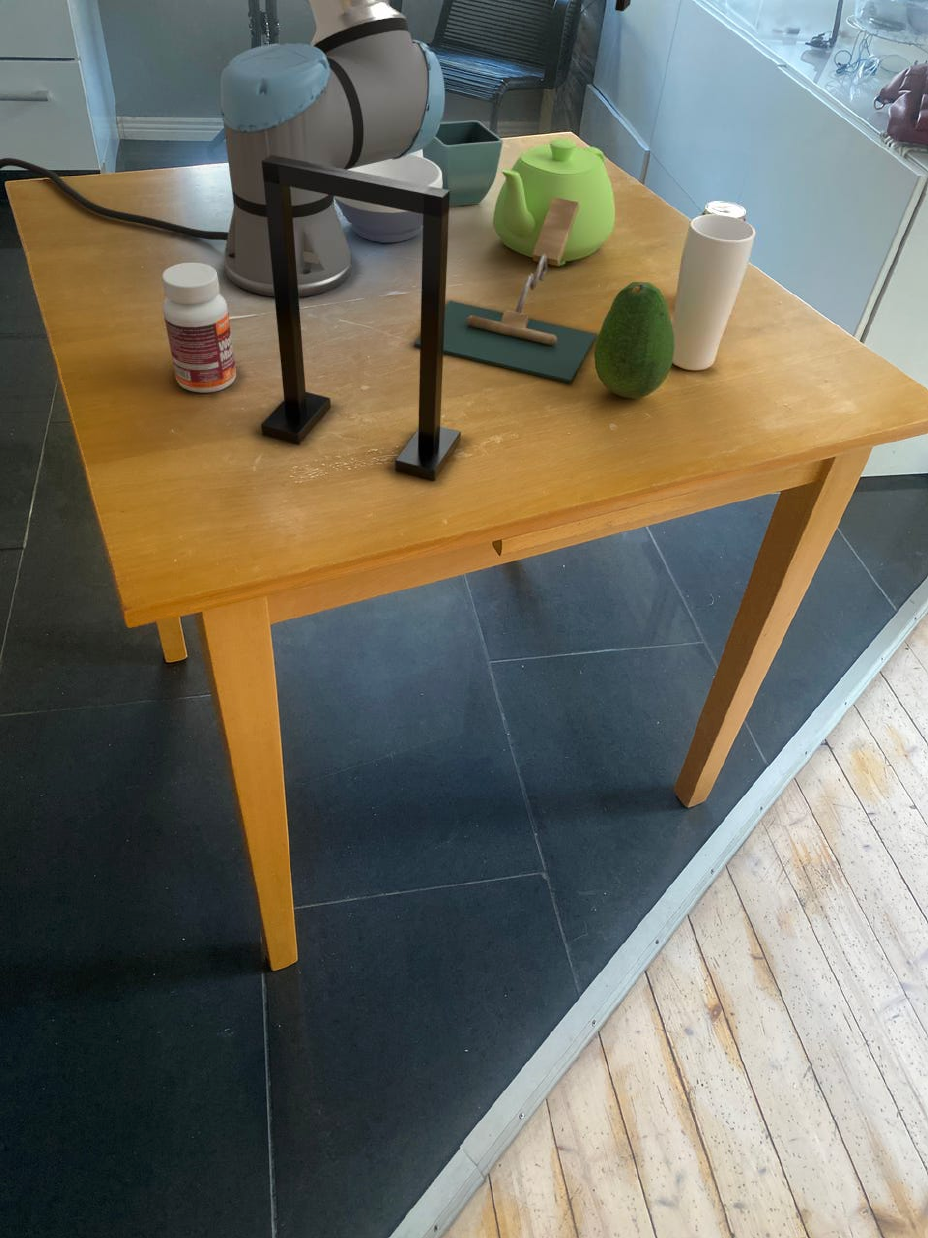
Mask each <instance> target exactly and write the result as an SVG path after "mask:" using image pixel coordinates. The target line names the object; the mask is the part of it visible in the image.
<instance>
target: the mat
mask: <svg viewBox="0 0 928 1238" xmlns="http://www.w3.org/2000/svg"><path fill="white" fill-rule="evenodd" d="M503 314H504V312H501V311H497V310H492V309H488V308H484V307H479V306H475V305H471V304H466V303H462V302H457V301H453V300H450V301H449V302H448V303H447V304H446V305H445V321H444V345H443V354H446V355H449V356H454V357H458V358H462V359H467V360H471V361H475V362H480V363H482V364H483V363H484V364H488V365H492V366H496V367H500V368H504V369H508V370H513V371H517V372H521V373H525V374H530V375H533V376H537V377H542V378H547V379H551V380H554V381H559V382H564V383H567V384H571V383H572V382H573V380H574V378H575V376H576V374H577V373H578V371H579V370H580V369H579V368H580V367H581V366H582V364H583V361H584V360H585V358H586V357H587V354H588V353H589V351H590V349H591V347H592V345H593V343H594V342H595V340H596V339H597V336H598V334H597V333H595V332H590V331H586V330H580V329H577V328H572V327H568V326H564V325H559V324H554V323H550V322H545V321H541V320H537V319H533V318H528V319H529V321H528V324H527V327H526V328H527V329H532V330H536V331H540V332H544V333H549V334H553V335H555V336H556V337H557V343H556V344H555V345H553V346H551V345H546V344H542V343H538V342H534V341H530V340H526V339H521V338H517V337H513V336H509V335H505V334H500V333H496V332H492V331H488V330H484V329H479V328H475V327H471V326H469V325H468V324H467V322H466V320H467V318H468V317H469V316H471V315H472V316H477V317H481V318H485V319H489V320H494V321H498V322H501V319H502V316H503ZM414 346H415V347H416V348H420V337H419V338H418V339H417V341H415V343H414Z"/></svg>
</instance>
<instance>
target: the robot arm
mask: <svg viewBox="0 0 928 1238" xmlns="http://www.w3.org/2000/svg"><path fill="white" fill-rule="evenodd" d="M631 1H632V0H615V6H614V11H616V12H617V11H618V12H625V10H626V9H627V8H628V7H630V6H631ZM308 2H309V5H310V9H311V12H312V16H313V19H314V22H315V25H316V30H315V33H314V36H313V38H312V40H311V42H310V44H306V43H302V42H301V43H300V42H286V43H284V44H280V43H270V44H265V45H264V44H263V45H259V46H256V47H254V48H250V49H247V50H245V51H243V52H240V53H239V54H237V55H236V56H234V57H233V58H231V60H229V61H228V62H227V64H226V65H225V67H224V69H223V71H222V72H221V75H220V116H221V117H220V118H221V120H222V122H223V129H224V137H225V145H226V153H227V161H228V170H229V178H230V179H229V180H230V184H231V186H230V187H231V193H232V194H231V195H232V205H233V209H232V214H231V219H230V224H229V229H228V232H227V231H213V230H212V231H211V230H202V229H197V228H193V227H192V228H191V227H187V226H184V225H179V224H175V223H172V222H168V221H165V220H160V219H156V218H152V217H148V216H143V215H139V214H134V213H129V212H124V211H118V210H115V209H111V208H107V207H104V206H101V205H98V204H96V203H95V202H92V201H90V200H89V199H87V198H86V197H84V195H81V194H80V193H79V192H78V191H76V190H75V189H74V188H72V187H71V186H69V185H68V184H67V183H66V182H65V181H64V180H63V179H62V177H60V176H59V175H58V174H57V173H56V172H54V171H52V170H50V169H47V168H45V167H43V166H42V167H41V166H39V165H36V164H33V163H31V162H29V161H26V160H22V159H17V158H13V157H4V158H0V170H2V169H3V168H6V167H17V168H21V169H24V170H26V171H30V172H32V173H35V174H38V175H40V176H43V177H46V178H48V179H50V180H51V181H52V182H54V183H55V184H56V186H57V187H58V188H59V189H60V190H61V191H62V192H64V193H65V194H66V195H67V196H69V197H71V198H72V199H73V200H74V201H76V202H77V203H78V204H79V205H81V206H82V207H84V208H86V209H88V210H89V211H91V212H94V213H95V214H99V215H101V216H105V217H108V218H111V219H116V220H120V221H124V222H130V223H136V224H140V225H145V226H150V227H154V228H158V229H161V230H165V231H168V232H173V233H176V234H180V235H182V236H183V235H184V236H188V237H193V238H197V239H202V240H208V241H209V240H210V241H226V243H225V248H224V266H225V272H226V276H227V278H228V279H229V280H230V281H231V282H232V283H233V284H235V285H236V286H237V287H238V288H241V289H243V290H245V291H248V292H251V293H254V294H258V295H263V296H268V297H275V296H274V286H273V275H272V264H271V254H270V243H269V233H268V222H267V212H266V201H265V190H264V181H263V171H262V160H264V159H265V158H267V157H268V156H270V155H275V156H280V157H285V158H290V159H295V160H300V161H305V162H310V163H315V164H320V165H326V166H331V167H336V168H341V169H346V170H348V169H352V168H356V167H360V166H364V165H368V164H372V163H376V162H380V161H384V160H388V159H393V160H395V159H400V158H401V157H404V156H406V155H407V154H414V153H415V152H419V151H421V150H422V149H423V148H425V147H426V146H427V145H428V144H429V143H430V142H431V141H432V140H433V138H434V137H435V135H436V134H437V132H438V129H439V126H440V123H441V120H442V119H443V117H444V112H445V104H446V98H445V97H446V89H445V80H444V75H443V71H442V67H441V64H440V62H439V60H438V57H437V56H436V54H435V52H433V51H431V49H430V46H428V45H427V44H426V43H424V42H422V41H419V40H417V39H412V37H411V32H410V29H409V25H408V21H407V18H406V16H405V15H404V14H403V13H401V12H399V11H398V10H396V9H395V8H393V7H392V6H391V5H390V4H389V1H388V0H308ZM290 190H291V203H292V216H293V229H294V243H295V256H296V269H297V283H298V296H299V298H300V297H308V296H314V295H318V294H322V293H325V292H328V291H331V290H334V289H335V288H338V287H339V286H341V285H342V284H344V283H345V282H346V281H347V280H348V279H349V278H350V275H351V273H352V266H353V264H352V254H351V253H352V252H351V248H350V245H349V243H348V240H347V237H346V234H345V231H344V229H343V225H342V224H341V220H340V217H339V215H338V212H337V209H336V206H335V199H334V196H333V195H328V194H323V193H318V192H313V191H309V190H304V189H299V188H294V187H290Z"/></svg>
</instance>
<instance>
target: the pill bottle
mask: <svg viewBox="0 0 928 1238" xmlns="http://www.w3.org/2000/svg"><path fill="white" fill-rule="evenodd" d="M161 276H162V285H163V292H164V295H165V297H166V299H165V300H164V302H163V305H162V312H163V318H164V323H165V327H166V328H165V329H166V334H167V338H168V344H169V349H170V353H171V354H170V355H171V359H172V365H173V371H174V376H175V380H176V382H177V384H178V385H179V386H180V387H182V388H183V389H184V390H187V391H189V392H194V393H204V394H205V393H207V394H208V393H214V392H215V393H216V392H219V391H222V390H224V389H226V388H227V387H230V385H232V384H233V383H234V381H235V380H236V377H237V369H236V361H235V354H234V353H235V352H234V345H233V340H232V339H233V338H232V332H231V324H230V323H231V322H230V315H229V308H228V304H227V301H226V299H225V298H224V296H222V295H221V294H220V291H221V289H220V283H219V278H218V273H217V270H216V269H215V268H214V267H213V266H211V265H209V264H205V263H201V262H183V263H177V264H174V265H172V266H170V267H168V268H166V269H165V270H164V271H163V273H162V275H161Z"/></svg>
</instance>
